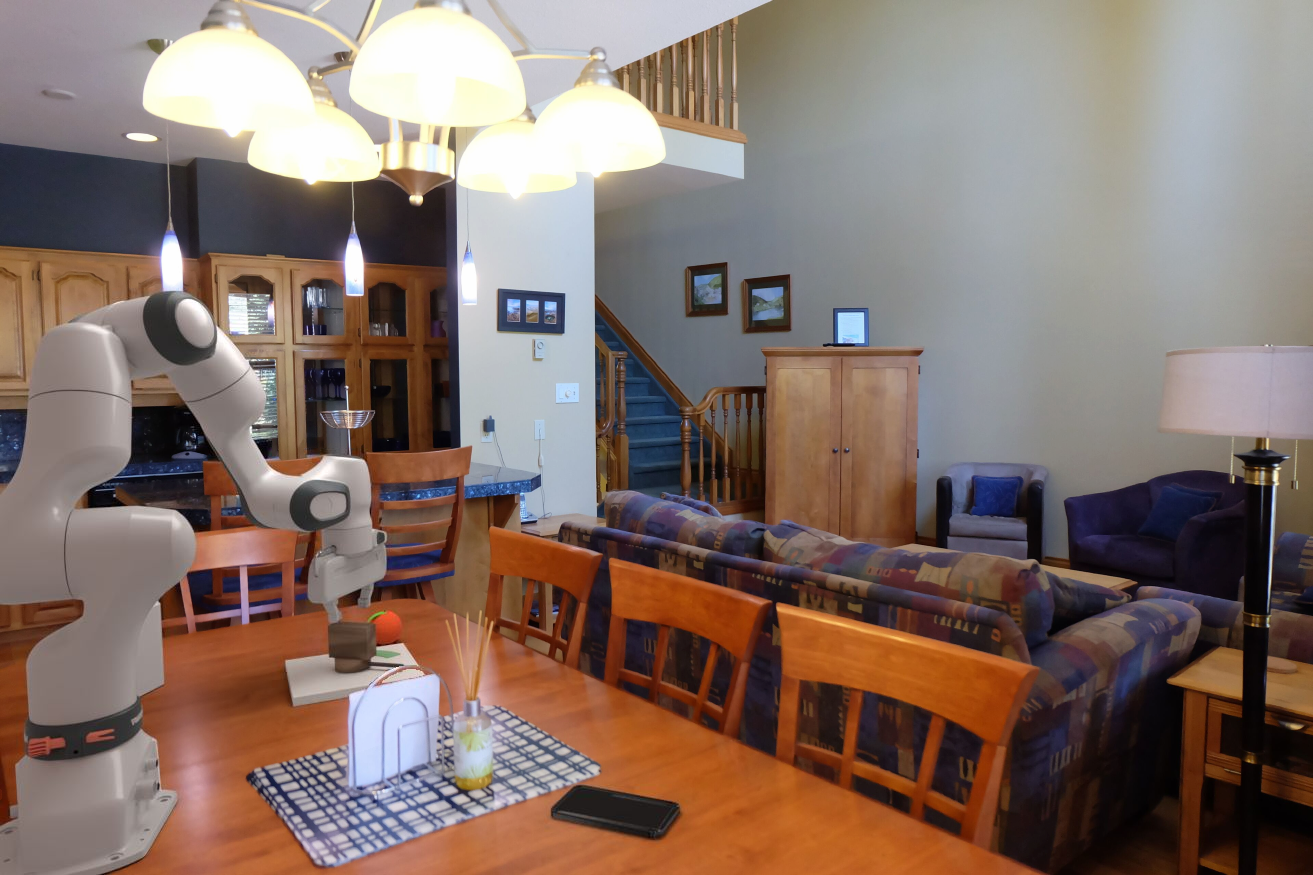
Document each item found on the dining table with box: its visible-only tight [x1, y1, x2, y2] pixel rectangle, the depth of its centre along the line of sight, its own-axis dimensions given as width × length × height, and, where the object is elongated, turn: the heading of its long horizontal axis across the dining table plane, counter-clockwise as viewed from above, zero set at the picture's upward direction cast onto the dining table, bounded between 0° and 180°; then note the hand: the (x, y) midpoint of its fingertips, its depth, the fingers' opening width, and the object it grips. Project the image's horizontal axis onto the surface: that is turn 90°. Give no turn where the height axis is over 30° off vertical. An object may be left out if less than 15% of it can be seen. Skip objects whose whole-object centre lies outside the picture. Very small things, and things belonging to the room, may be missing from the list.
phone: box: [550, 784, 681, 840], centre depth 104 cm, size 8×1×15 cm
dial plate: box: [284, 642, 426, 707], centre depth 155 cm, size 22×22×2 cm
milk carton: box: [136, 600, 165, 698], centre depth 148 cm, size 7×7×19 cm
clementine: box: [366, 610, 403, 646], centre depth 174 cm, size 8×7×7 cm
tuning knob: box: [327, 620, 404, 673], centre depth 154 cm, size 6×14×8 cm, turn 77°
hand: (350, 614), depth 155 cm, fingers open, 8 cm apart
